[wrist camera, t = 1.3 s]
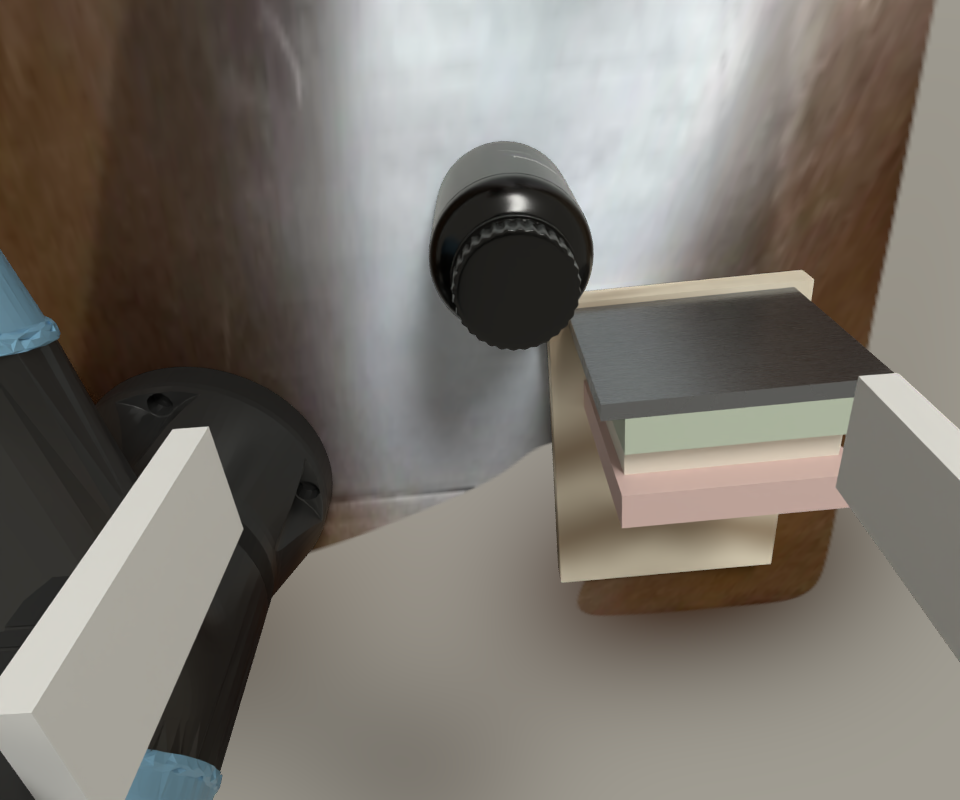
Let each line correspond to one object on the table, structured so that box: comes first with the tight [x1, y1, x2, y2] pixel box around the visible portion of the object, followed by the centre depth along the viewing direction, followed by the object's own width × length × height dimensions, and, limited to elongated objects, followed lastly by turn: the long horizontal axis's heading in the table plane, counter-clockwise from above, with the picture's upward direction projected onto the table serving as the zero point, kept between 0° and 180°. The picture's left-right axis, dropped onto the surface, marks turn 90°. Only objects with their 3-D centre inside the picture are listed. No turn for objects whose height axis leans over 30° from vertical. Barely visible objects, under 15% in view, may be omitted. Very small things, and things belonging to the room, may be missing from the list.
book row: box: [584, 380, 854, 528], centre depth 34 cm, size 5×10×10 cm, turn 95°
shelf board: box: [547, 270, 814, 583], centre depth 43 cm, size 20×14×2 cm
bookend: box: [568, 287, 894, 421], centre depth 33 cm, size 1×12×10 cm, turn 96°
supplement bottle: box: [429, 141, 594, 351], centre depth 31 cm, size 7×7×12 cm
